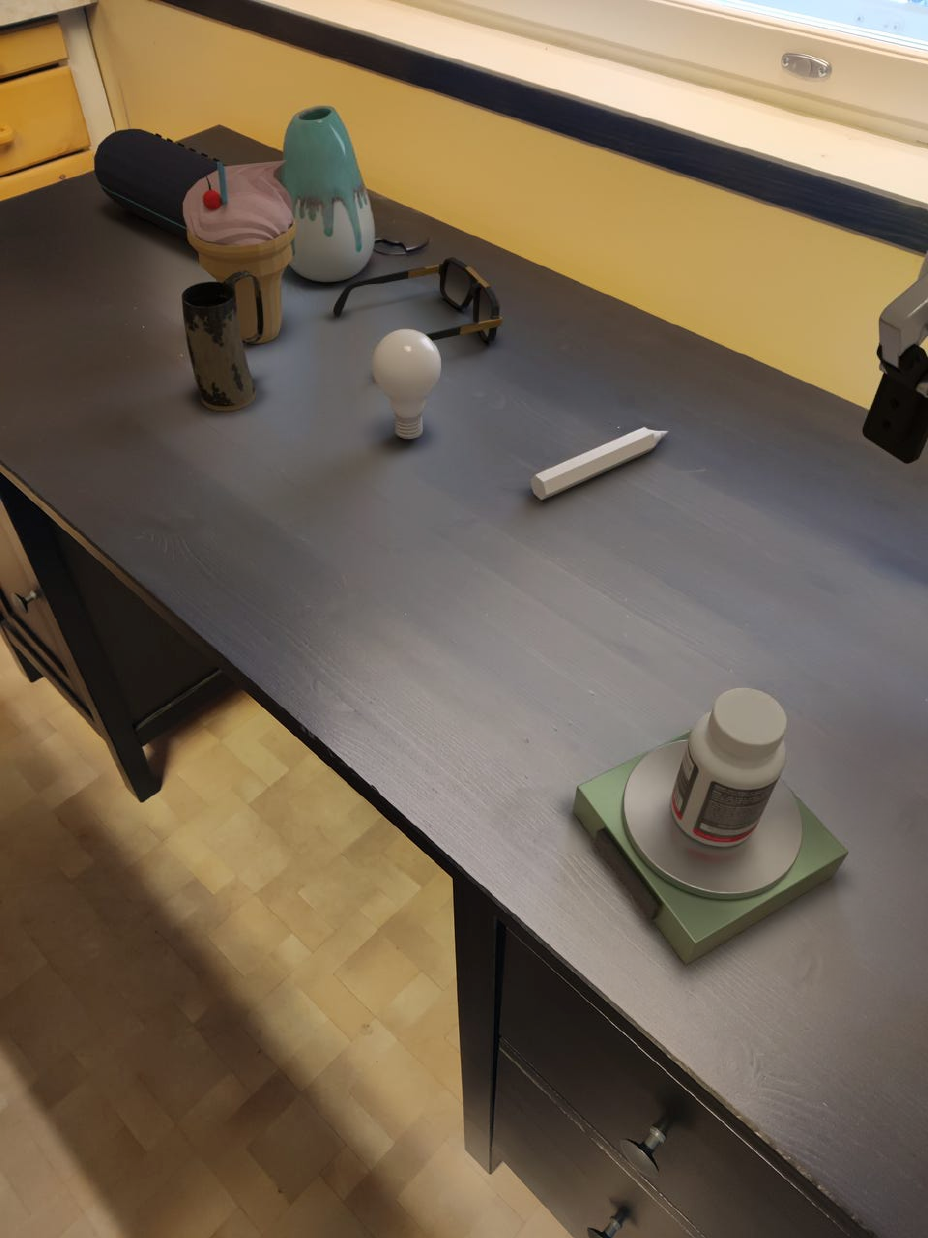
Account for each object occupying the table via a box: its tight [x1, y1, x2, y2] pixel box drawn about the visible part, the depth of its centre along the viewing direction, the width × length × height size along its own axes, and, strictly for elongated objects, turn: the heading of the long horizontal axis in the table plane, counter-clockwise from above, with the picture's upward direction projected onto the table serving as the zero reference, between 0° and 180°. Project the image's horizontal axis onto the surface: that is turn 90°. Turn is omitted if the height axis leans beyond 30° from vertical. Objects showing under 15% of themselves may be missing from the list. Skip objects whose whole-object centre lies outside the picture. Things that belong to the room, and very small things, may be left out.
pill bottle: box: [671, 687, 788, 847], centre depth 54 cm, size 5×5×10 cm
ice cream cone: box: [183, 160, 296, 345], centre depth 96 cm, size 11×11×20 cm
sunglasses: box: [332, 256, 504, 342], centre depth 102 cm, size 14×15×5 cm
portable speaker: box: [93, 128, 228, 241], centre depth 117 cm, size 25×10×10 cm, turn 49°
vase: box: [279, 105, 376, 283], centre depth 107 cm, size 12×12×18 cm
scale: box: [572, 729, 849, 966], centre depth 59 cm, size 12×12×3 cm
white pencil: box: [529, 426, 669, 501], centre depth 87 cm, size 3×2×16 cm
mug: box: [181, 270, 264, 412], centre depth 91 cm, size 8×6×12 cm
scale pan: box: [622, 740, 803, 900], centre depth 58 cm, size 11×11×1 cm
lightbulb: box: [371, 328, 442, 440], centre depth 86 cm, size 6×6×11 cm
